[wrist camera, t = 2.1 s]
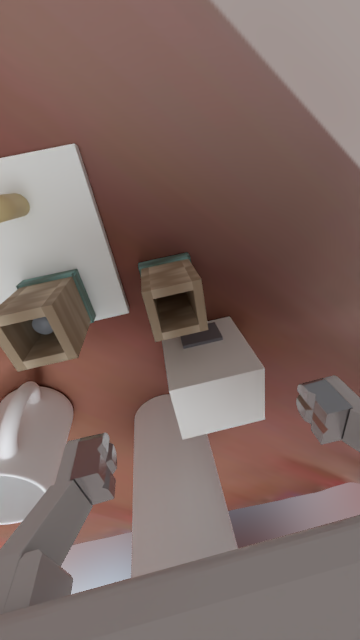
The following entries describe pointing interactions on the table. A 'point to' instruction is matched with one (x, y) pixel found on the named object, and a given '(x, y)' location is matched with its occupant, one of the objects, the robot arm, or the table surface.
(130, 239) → the table surface
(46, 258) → the pin board
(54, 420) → the mug
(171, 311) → the sleeve
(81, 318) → the sleeve seated
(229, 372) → the white box
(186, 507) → the cylinder container
